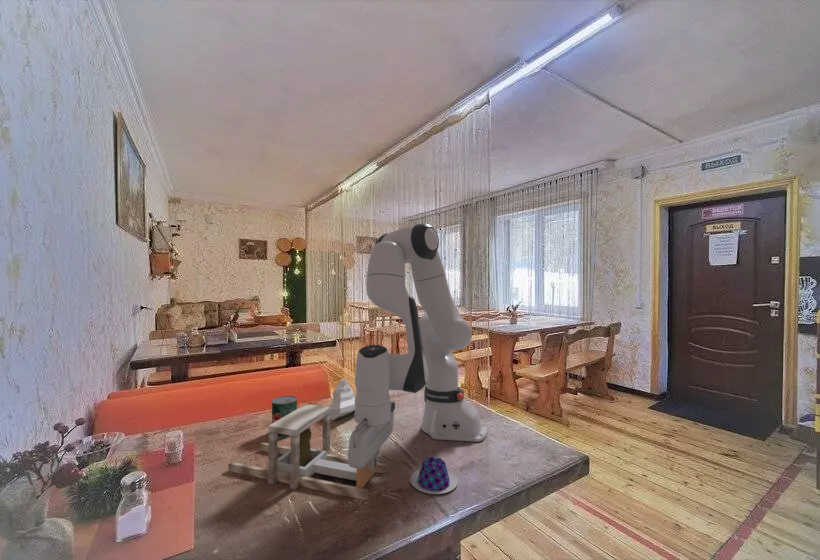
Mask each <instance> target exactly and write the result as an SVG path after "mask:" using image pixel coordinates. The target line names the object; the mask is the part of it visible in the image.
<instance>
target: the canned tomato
mask: <svg viewBox="0 0 820 560" xmlns="http://www.w3.org/2000/svg"><path fill="white" fill-rule="evenodd" d="M297 409H298V398H297V396H294V395H282V396H278V397H274V398H273V399H272V400H271V424H272V423H274V422H276V421H278V420H279V419H281V418H283V417H285V416H286V415H288V414H290V413H291V412H293V411H295V410H297ZM287 437H291V435H285V434H279V433H277V439H279V438H280V439H281V438H282V439H283V438H287Z"/></svg>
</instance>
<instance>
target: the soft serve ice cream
mask: <svg viewBox="0 0 820 560" xmlns="http://www.w3.org/2000/svg"><path fill="white" fill-rule="evenodd" d="M347 381H348V380H347V379H345V378H343V377H342V378H340V381H339V382H338V383H337V386H336V387H335V389H334V391H333V392H332V402H331V404H330V405H329V406H328V407H330V420H333V421H335V420H337V419H340V418H342V417H344V416H347V415H349V414H351V413H353V411H354V412H355V397H356V396H355V394H354V391H353V388H352V387H351V386H350V384H349V383H348V382H347Z"/></svg>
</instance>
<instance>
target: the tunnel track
mask: <svg viewBox="0 0 820 560" xmlns="http://www.w3.org/2000/svg"><path fill="white" fill-rule="evenodd" d="M320 420H322V450H324V451H327V460H328V461H334V462H339V463H345V464H348V456H342V455H337V454H332V453H331V418H330V407H329V406H323V405H316V404H307V403H305V404H304V405H302V406H301V407H299V408H298V407H297V410H295V411H293V412H291V413H290V414H288V415H286V416H285V417H283V418H281V419H279V420H278V421H276V422H274V423H272V422H271V423H270V424H269V425H267V426H268V427H267V428H268V437H267V439H268V442H263V441H262V442H260V443H259V451H262V452H266V453H267V454H268V457H267V458H268V461H267V463H268V464H267V466H268V467H267V468H264V467H260V466H254V465H251V464H250V465H249V464H245V463H240V462H235V461H230V462H228V463H227V464H228V469H227V470H228V472H230V473H236V474H241V475H245V476H250V477H254V478H260V479H262V480H263V479H265V480H267V484H268V485H270V484H271V486H274V485H275V484H277V483H282V482H283V483H282V484H288V485H290V486H289V487H290V488H289V489H291V490H295V491H296V490H297V489H298V488H305V489H310V490H315V491H319V492H325V493H329V494H334V495H339V496H343V497H348V498H352V499H357V500H362V501H367V500H369V489H367V488H364V487H363V488H359V487H356V481H355V480H350V479H345V478H342V481H341V482H335V481H336V480H337V479H338V478H339V477H335V476H330V475H324V474H322V475H321V476H320V477H319V478H314V477H310V478H309V477H305V476H300V475H299V463H300V433H301V432H303V431H304V430H306V429H307V428H309V429H310V430H311V427H312V426H313V425H314V424H316V423H318V421H320ZM277 433H279V434H285V435H291V436H290V446H285V445H280V444H278V438H277ZM309 443H310V444H311V439H310V440H309ZM289 450H291V464H290V473H285V472H280V471H277V459H278V455H281V456H282V455H284V454H285V453H287V452H288V451H289ZM387 468H388V464H387V463H382V462H378V464H377V470H376V471H375V472H374V473H381V474H387V471H388V469H387ZM277 481H278V482H277Z"/></svg>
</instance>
